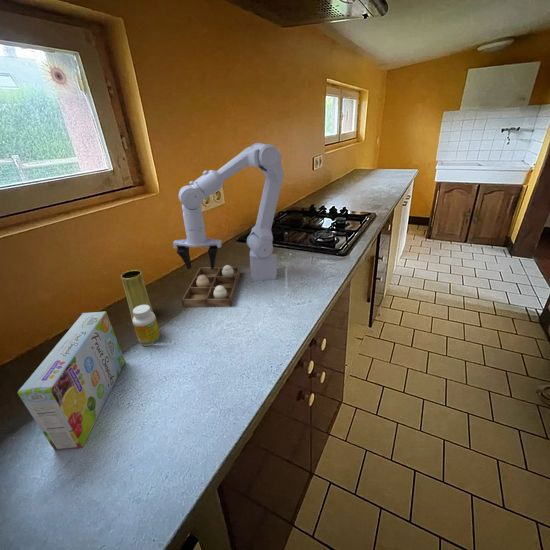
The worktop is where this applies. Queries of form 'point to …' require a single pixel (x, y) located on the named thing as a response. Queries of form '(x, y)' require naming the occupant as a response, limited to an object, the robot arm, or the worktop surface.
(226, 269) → the cream egg far
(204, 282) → the beige egg
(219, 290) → the cream egg near
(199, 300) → the egg tray
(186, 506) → the worktop surface
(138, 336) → the supplement bottle
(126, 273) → the vase
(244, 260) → the worktop surface
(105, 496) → the worktop surface
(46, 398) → the snack box
